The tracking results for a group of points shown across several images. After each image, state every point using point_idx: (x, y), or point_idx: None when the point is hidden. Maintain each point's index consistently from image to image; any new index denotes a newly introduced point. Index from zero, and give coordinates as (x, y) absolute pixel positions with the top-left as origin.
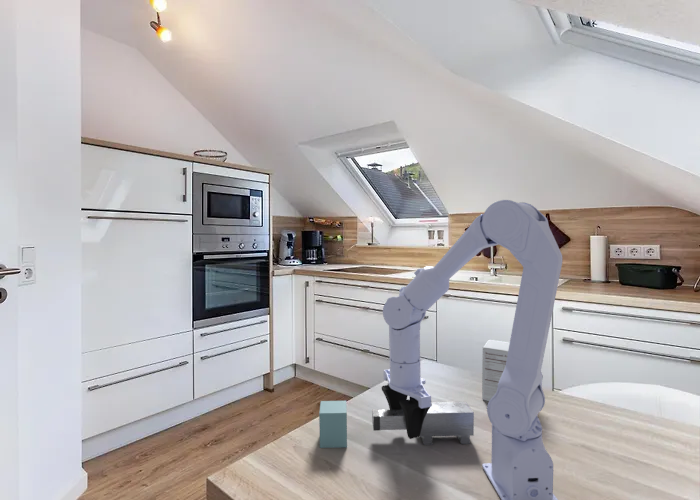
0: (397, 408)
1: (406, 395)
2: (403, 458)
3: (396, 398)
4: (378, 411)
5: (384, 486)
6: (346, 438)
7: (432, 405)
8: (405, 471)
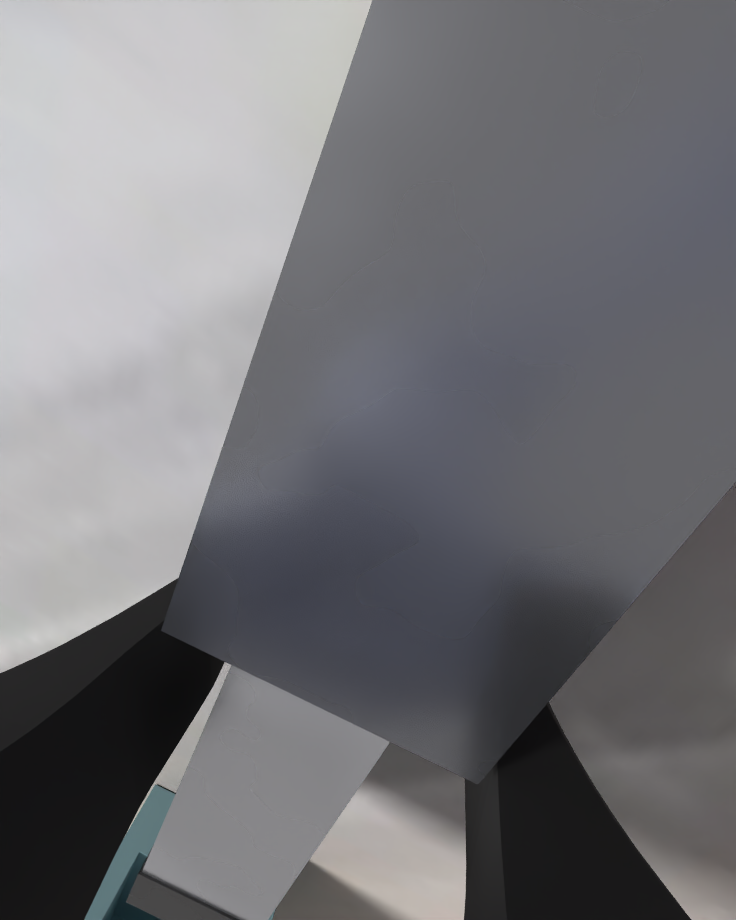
0: (148, 726)
1: (22, 753)
2: (556, 715)
3: (66, 851)
4: (172, 892)
5: (708, 916)
6: (274, 910)
7: (349, 486)
8: (680, 784)
